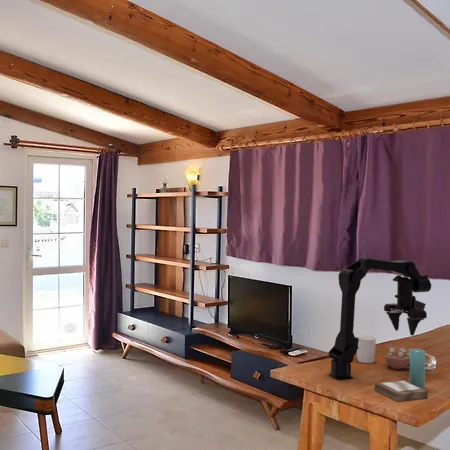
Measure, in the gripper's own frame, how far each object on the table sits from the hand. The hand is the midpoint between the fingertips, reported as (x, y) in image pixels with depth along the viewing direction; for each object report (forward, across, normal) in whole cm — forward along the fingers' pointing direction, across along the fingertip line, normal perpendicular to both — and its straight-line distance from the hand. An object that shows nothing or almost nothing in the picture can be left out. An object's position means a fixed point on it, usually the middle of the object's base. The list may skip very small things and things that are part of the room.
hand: (404, 332), depth 206 cm
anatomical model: (+15, +8, -5) cm, 18 cm away
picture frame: (+15, -23, +19) cm, 33 cm away
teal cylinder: (+15, -19, +9) cm, 26 cm away
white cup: (+15, +16, +6) cm, 23 cm away
